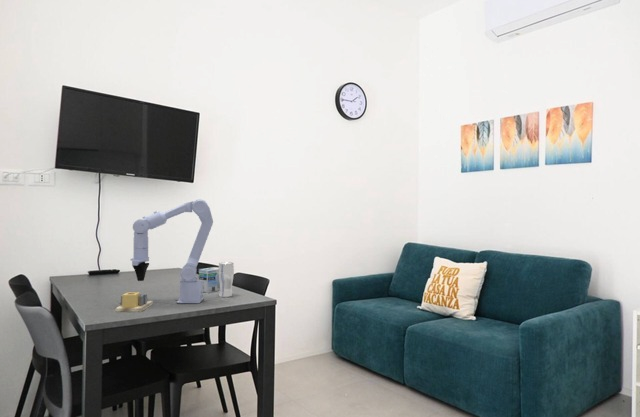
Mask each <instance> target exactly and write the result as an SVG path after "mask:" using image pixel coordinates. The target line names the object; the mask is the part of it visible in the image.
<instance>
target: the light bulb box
mask: <svg viewBox="0 0 640 417" xmlns="http://www.w3.org/2000/svg"><path fill="white" fill-rule="evenodd" d="M218 268H219V267H216V266H214V267H207V268H198V281H202V282H203V293H207V294H209V293H213V292H220V284H219V277H218Z"/></svg>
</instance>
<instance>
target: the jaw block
mask: <svg viewBox="0 0 640 417" xmlns="http://www.w3.org/2000/svg"><path fill="white" fill-rule="evenodd" d="M140 294H141V292H136V291H135V292H131V291H130V292H126V293H124V294H122V295H121V296H122V308H136V307H137V306H139V296H140Z"/></svg>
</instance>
